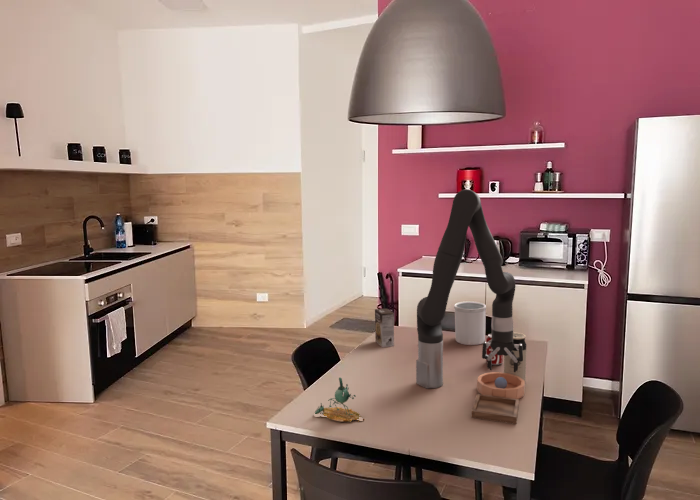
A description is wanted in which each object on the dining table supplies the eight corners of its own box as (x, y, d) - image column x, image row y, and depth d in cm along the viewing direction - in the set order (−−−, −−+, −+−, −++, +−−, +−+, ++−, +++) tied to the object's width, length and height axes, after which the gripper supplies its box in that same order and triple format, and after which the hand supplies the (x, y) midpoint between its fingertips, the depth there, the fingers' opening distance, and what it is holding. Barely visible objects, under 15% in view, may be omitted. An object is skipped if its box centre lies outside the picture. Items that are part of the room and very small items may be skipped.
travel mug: (506, 375, 205) (507, 331, 203) (527, 378, 201) (528, 333, 199) (501, 382, 198) (502, 336, 196) (522, 386, 194) (523, 339, 192)
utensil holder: (456, 345, 241) (456, 309, 239) (451, 336, 256) (451, 301, 254) (488, 345, 241) (489, 308, 238) (481, 335, 255) (482, 301, 253)
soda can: (500, 360, 221) (501, 333, 220) (504, 366, 215) (504, 338, 213) (484, 360, 222) (485, 333, 220) (487, 365, 215) (487, 338, 214)
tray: (516, 424, 165) (516, 417, 165) (471, 417, 170) (471, 410, 170) (518, 405, 178) (519, 399, 178) (477, 400, 183) (477, 394, 183)
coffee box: (374, 341, 250) (374, 309, 247) (387, 340, 252) (387, 307, 249) (381, 347, 241) (381, 313, 239) (394, 346, 243) (394, 312, 241)
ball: (501, 392, 187) (501, 380, 187) (492, 388, 191) (492, 377, 190) (509, 389, 190) (509, 378, 189) (500, 385, 193) (500, 374, 193)
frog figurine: (320, 407, 181) (324, 366, 178) (369, 420, 175) (373, 379, 172) (308, 418, 172) (311, 376, 170) (359, 433, 166) (363, 390, 163)
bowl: (523, 403, 180) (523, 392, 179) (474, 397, 186) (475, 386, 185) (525, 385, 195) (525, 375, 194) (480, 380, 201) (480, 370, 200)
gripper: (523, 325, 189) (523, 368, 191) (483, 323, 194) (483, 365, 196) (522, 332, 182) (522, 376, 184) (481, 329, 187) (481, 372, 189)
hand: (502, 370), depth 190 cm, fingers open, 8 cm apart
